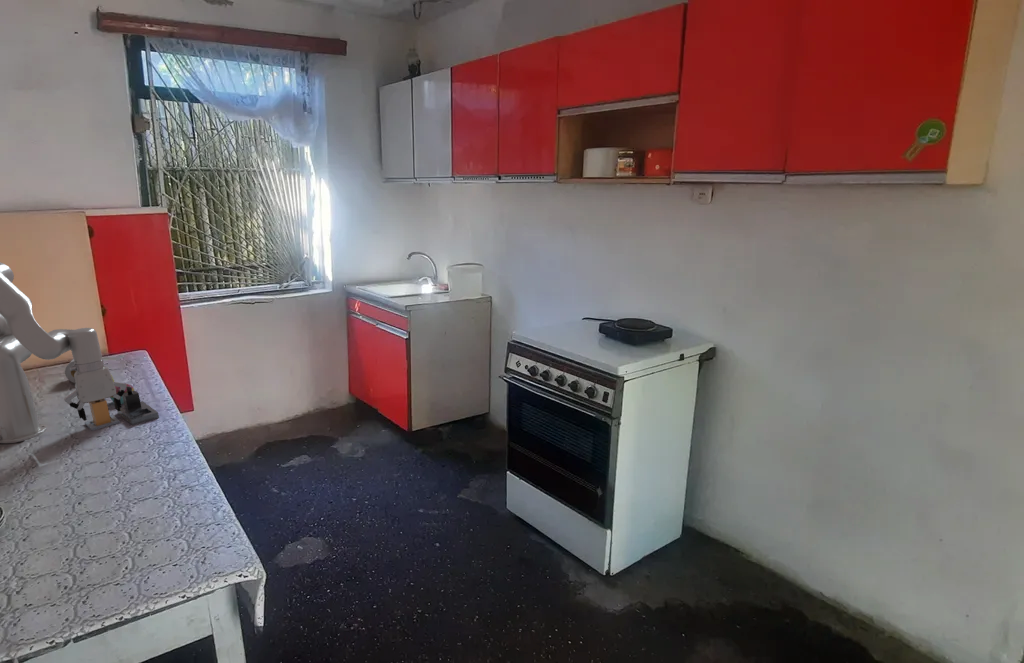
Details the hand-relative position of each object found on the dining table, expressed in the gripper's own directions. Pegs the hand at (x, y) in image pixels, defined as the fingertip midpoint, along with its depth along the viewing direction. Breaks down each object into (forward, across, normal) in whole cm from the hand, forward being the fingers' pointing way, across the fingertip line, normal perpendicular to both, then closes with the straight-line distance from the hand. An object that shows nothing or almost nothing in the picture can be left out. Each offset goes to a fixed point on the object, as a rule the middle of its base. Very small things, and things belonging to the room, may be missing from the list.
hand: (101, 414), depth 194 cm
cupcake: (+4, +10, +18) cm, 21 cm away
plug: (+3, 0, 0) cm, 3 cm away
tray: (+4, 0, 0) cm, 4 cm away
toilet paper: (+4, +8, +60) cm, 61 cm away
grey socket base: (+4, +10, -2) cm, 11 cm away
